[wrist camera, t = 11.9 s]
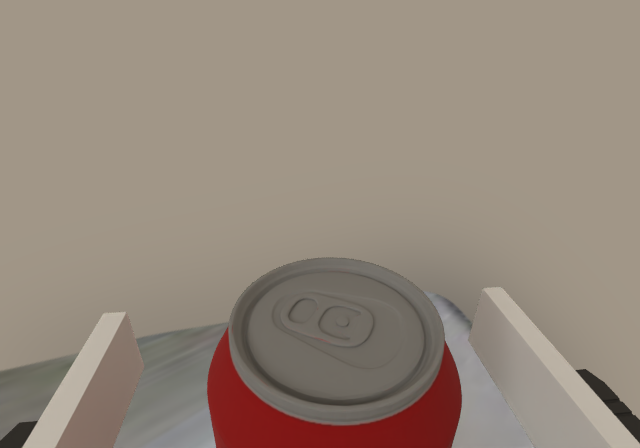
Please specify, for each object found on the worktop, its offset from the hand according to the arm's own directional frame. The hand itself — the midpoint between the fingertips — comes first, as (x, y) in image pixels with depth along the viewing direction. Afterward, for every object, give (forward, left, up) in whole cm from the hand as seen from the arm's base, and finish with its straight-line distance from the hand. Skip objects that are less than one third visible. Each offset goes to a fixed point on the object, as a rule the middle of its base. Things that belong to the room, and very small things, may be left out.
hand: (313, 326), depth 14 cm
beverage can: (+3, -2, -9) cm, 9 cm away
